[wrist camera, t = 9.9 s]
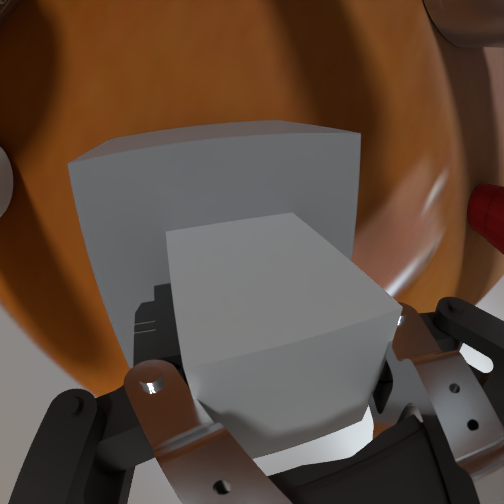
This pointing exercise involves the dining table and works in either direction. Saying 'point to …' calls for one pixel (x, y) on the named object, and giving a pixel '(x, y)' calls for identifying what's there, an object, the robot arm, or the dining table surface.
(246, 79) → the dining table surface
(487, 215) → the plastic cup
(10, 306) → the dining table surface
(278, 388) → the grey stepped block
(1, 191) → the energy drink can
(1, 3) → the food container
